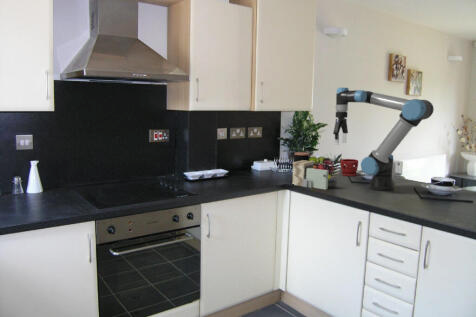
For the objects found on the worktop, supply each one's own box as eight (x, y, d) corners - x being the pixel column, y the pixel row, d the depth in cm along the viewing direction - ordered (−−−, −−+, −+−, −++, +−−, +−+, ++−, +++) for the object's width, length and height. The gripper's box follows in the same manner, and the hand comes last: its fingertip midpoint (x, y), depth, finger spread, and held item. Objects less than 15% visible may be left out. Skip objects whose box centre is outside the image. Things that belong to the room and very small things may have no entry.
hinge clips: (315, 186, 260) (315, 177, 259) (310, 187, 255) (311, 178, 254) (306, 184, 263) (307, 176, 262) (302, 186, 258) (302, 177, 258)
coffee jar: (309, 179, 284) (310, 154, 282) (294, 178, 284) (295, 154, 282) (307, 176, 295) (308, 152, 292) (292, 175, 295) (293, 152, 292)
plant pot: (346, 173, 312) (347, 158, 310) (360, 175, 302) (361, 160, 300) (336, 174, 304) (337, 159, 302) (350, 177, 294) (351, 161, 292)
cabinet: (313, 183, 270) (314, 161, 268) (303, 186, 258) (304, 163, 256) (302, 181, 275) (302, 160, 273) (291, 184, 264) (292, 162, 261)
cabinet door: (327, 188, 253) (328, 170, 251) (324, 189, 250) (325, 171, 248) (307, 185, 261) (308, 167, 259) (305, 186, 258) (305, 168, 256)
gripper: (342, 111, 270) (341, 142, 273) (328, 111, 250) (327, 144, 253) (353, 111, 266) (352, 142, 269) (340, 111, 246) (339, 145, 248)
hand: (340, 143), depth 261 cm, fingers open, 13 cm apart
